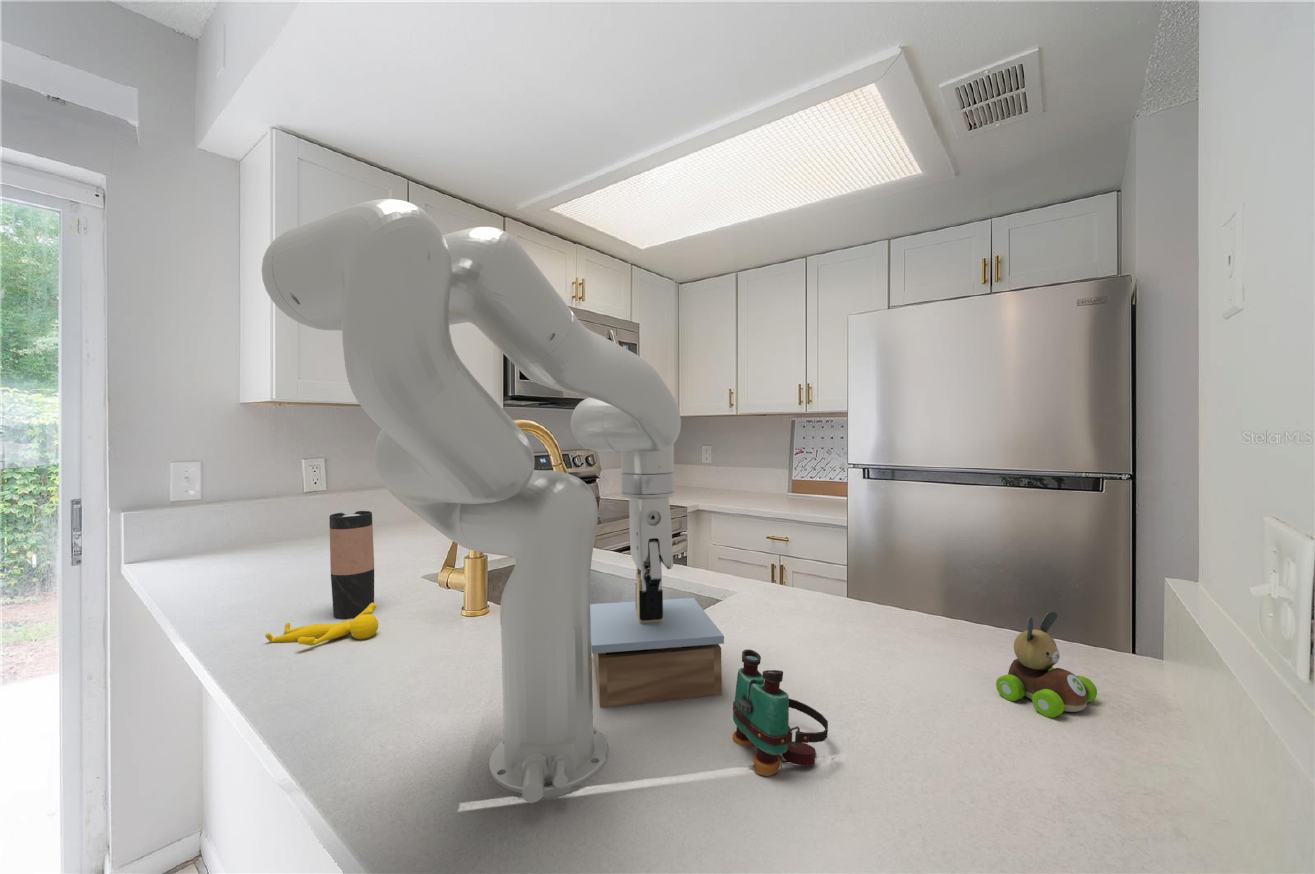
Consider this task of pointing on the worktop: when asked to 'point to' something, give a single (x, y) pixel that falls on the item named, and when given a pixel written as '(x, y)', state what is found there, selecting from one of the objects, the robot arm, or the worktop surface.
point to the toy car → (1044, 674)
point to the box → (658, 675)
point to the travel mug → (351, 563)
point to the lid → (650, 626)
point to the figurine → (330, 630)
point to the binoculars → (770, 719)
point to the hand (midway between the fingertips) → (649, 613)
